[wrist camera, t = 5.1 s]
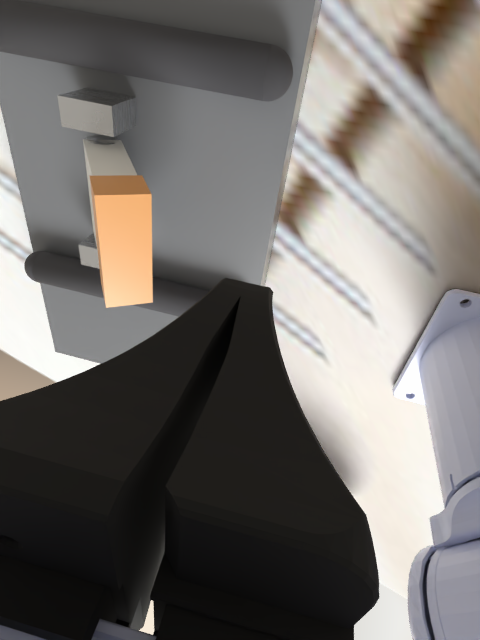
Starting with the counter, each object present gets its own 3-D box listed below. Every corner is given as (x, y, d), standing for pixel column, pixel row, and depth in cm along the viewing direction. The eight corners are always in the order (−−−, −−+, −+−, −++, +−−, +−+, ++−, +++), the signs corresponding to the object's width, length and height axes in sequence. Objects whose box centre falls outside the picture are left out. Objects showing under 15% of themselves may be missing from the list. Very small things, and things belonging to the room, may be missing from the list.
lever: (121, 133, 16) (151, 193, 12) (126, 224, 19) (153, 302, 14) (78, 131, 15) (94, 195, 11) (89, 226, 18) (106, 307, 14)
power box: (328, -33, 14) (319, -51, 10) (248, 365, 27) (230, 425, 23) (16, -80, 15) (-100, -114, 11) (80, 323, 28) (36, 373, 24)
